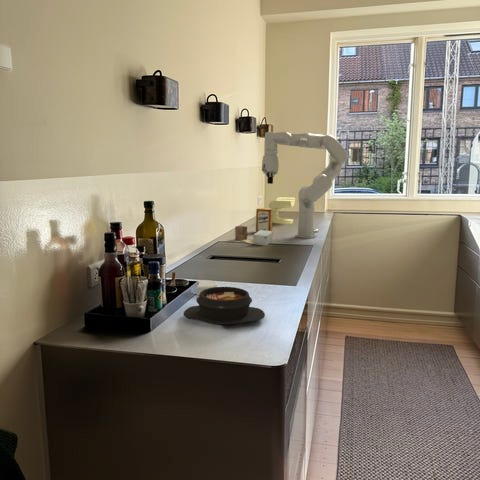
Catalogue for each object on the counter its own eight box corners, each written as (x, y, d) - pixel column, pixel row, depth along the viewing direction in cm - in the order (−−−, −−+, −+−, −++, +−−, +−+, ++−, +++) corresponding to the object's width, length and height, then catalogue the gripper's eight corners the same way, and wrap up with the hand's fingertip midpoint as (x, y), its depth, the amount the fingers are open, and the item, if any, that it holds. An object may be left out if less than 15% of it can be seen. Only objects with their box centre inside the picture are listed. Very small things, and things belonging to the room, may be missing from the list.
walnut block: (240, 238, 282) (240, 225, 280) (247, 239, 278) (247, 226, 277) (235, 239, 278) (235, 226, 276) (241, 240, 275) (241, 227, 273)
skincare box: (259, 239, 276) (252, 244, 262) (260, 229, 275) (252, 234, 261) (273, 240, 273) (266, 246, 260) (273, 230, 272) (266, 236, 258)
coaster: (199, 297, 164) (199, 288, 163) (185, 291, 172) (184, 282, 171) (222, 293, 170) (222, 283, 169) (207, 287, 178) (207, 278, 177)
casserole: (177, 328, 134) (177, 300, 133) (189, 308, 152) (189, 283, 151) (264, 332, 132) (264, 304, 131) (265, 310, 151) (266, 285, 149)
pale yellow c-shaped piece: (274, 219, 370) (275, 197, 367) (294, 220, 366) (295, 197, 363) (268, 224, 341) (268, 200, 338) (289, 225, 338) (290, 201, 335)
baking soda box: (272, 232, 307) (272, 208, 304) (270, 233, 301) (270, 209, 298) (258, 231, 310) (258, 207, 307) (256, 232, 303) (256, 208, 301)
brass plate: (255, 239, 280) (255, 238, 280) (268, 242, 271) (268, 241, 271) (239, 241, 273) (239, 240, 273) (252, 244, 264) (252, 243, 264)
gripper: (275, 153, 286) (275, 182, 290) (257, 152, 277) (256, 183, 281) (284, 153, 281) (283, 183, 284) (265, 152, 272) (264, 184, 275)
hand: (270, 183), depth 282 cm, fingers closed
